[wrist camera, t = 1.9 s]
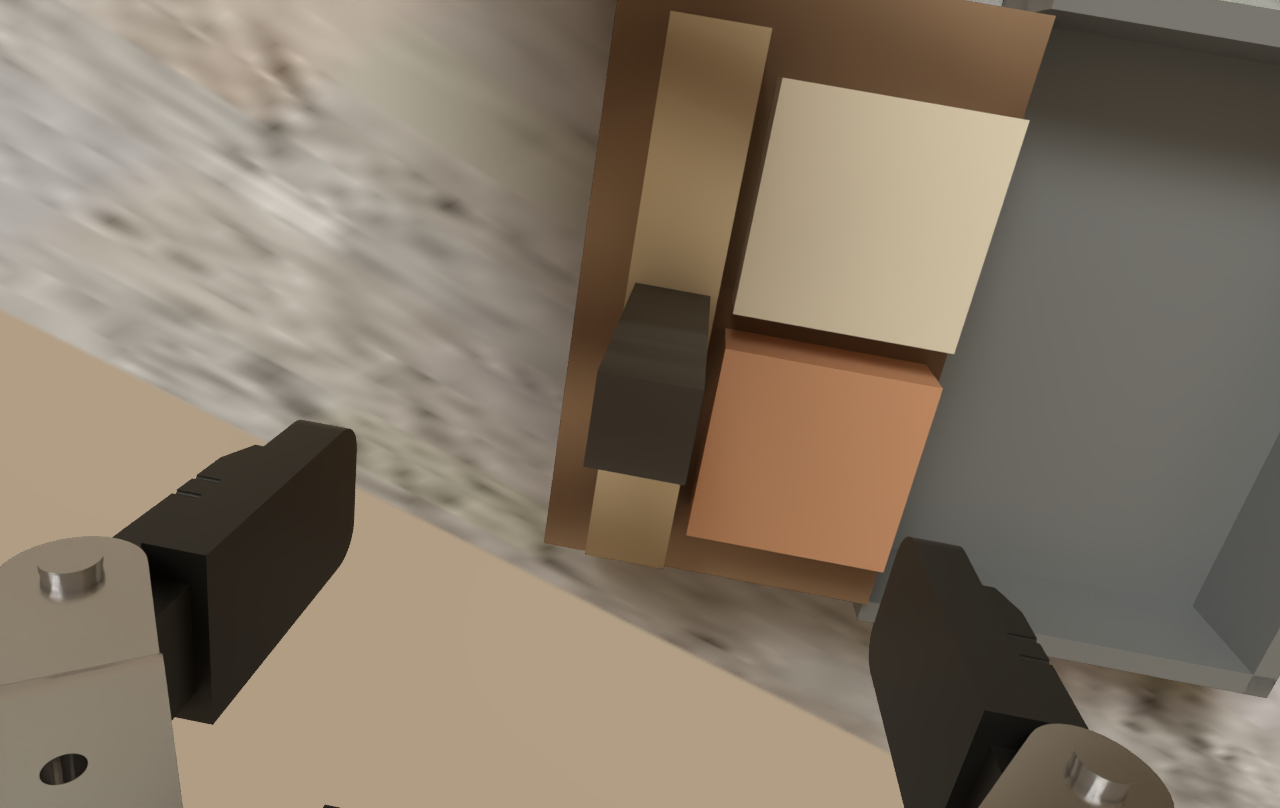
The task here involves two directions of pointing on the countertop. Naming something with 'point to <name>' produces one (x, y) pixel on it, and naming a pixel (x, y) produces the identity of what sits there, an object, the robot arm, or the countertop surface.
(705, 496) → the tile
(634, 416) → the t-shaped block
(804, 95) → the tile
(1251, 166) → the box
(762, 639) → the countertop surface
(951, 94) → the stepped wooden block
